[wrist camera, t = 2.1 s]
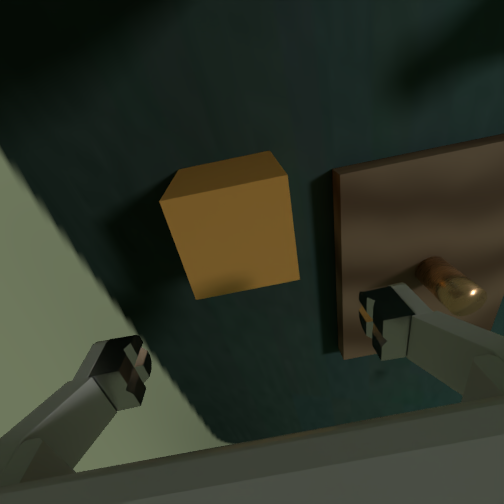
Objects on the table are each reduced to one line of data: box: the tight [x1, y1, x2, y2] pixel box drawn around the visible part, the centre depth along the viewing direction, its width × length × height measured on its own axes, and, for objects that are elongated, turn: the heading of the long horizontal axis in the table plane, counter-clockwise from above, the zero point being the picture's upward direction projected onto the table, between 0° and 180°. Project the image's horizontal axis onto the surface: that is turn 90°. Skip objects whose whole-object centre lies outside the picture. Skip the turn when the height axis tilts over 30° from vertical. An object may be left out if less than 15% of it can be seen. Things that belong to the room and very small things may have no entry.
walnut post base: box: [332, 134, 504, 360], centre depth 21 cm, size 18×14×6 cm
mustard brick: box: [159, 151, 300, 300], centre depth 17 cm, size 6×6×6 cm
